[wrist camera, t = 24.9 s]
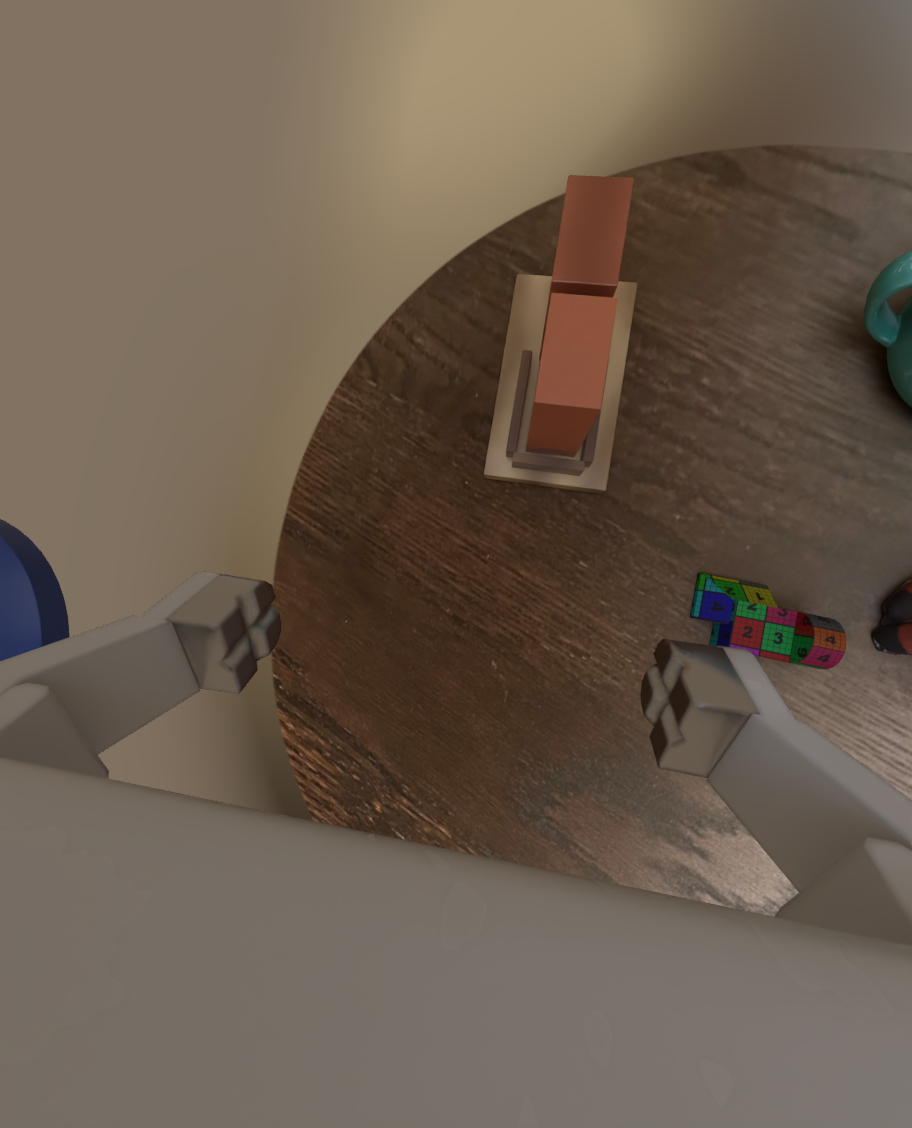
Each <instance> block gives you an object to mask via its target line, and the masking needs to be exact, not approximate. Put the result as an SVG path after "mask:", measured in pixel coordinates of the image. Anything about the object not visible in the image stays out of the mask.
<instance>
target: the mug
mask: <svg viewBox="0 0 912 1128" xmlns="http://www.w3.org/2000/svg"><path fill="white" fill-rule="evenodd" d="M908 287H912V251H911V252H908V253H906V254H904V255H903V256H901V257H899V258H898V259H896V260H895V261H893V262H892V263H891V264H889V265H888V266H887V267H886V268H885V269H884V270H883V271H882V272H881V273H880V274H879V275H878V277H877V278H876V279H875V281H874V283H873V284H872V286H871V289H870V291H869V293H868V296H867V300H866V305H865V309H864V325H865V328H866V330H867V332H868V333H869V334H870V336H871V337H872V338H873V339H874V340H876V341H877V342H879V343H880V344H882V345H884V346H886V347H887V365H888V370H889V374H890V377H891V380H892V382H893V385H894V387H895V389H896V390H897V392H898V393H899V395H900V396H901V397H902V399H903V400H904V401H905V402H906V403H907V404H908V405H909V406H910V407H912V298H911V299H910V300H909V301H908V303H907V304H906V305H905V307H904V308H903V309H902V311H901V312H900V314H899V315H896V313H895V312H894V311H893V310H892V309H891V308H890V306H889V305H888V302H887V298H889V297H890V296H892V295H893V294H895V293H897V292H899V291H901V290H903V289H906V288H908Z"/></svg>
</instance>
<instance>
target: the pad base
mask: <svg viewBox="0 0 912 1128" xmlns="http://www.w3.org/2000/svg"><path fill="white" fill-rule="evenodd" d="M633 183H634V178H621V177H598V176H576V175H575V176H574V175H570V176H569V177H568V182H567V188H566V194H565V200H564V207H563V213H562V219H561V225H560V231H559V237H558V244H557V250H556V256H555V262H554V268H553V274H552V276H539V275H526V274H517V276H516V283H515V289H514V295H513V301H512V307H511V313H510V319H509V325H508V331H507V337H506V343H505V349H504V355H503V361H502V367H501V373H500V379H499V385H498V391H497V397H496V403H495V409H494V415H493V421H492V427H491V433H490V439H489V445H488V451H487V457H486V463H485V469H484V478H487V479H495V480H502V481H509V482H517V483H524V484H532V485H539V486H546V487H554V488H561V489H569V490H576V491H583V492H591V493H598V494H603V493H604V492H605V491H606V488H607V481H608V474H609V468H610V461H611V455H612V448H613V442H614V435H615V428H616V422H617V415H618V409H619V402H620V396H621V389H622V382H623V376H624V369H625V363H626V356H627V350H628V343H629V336H630V330H631V323H632V317H633V310H634V304H635V297H636V290H637V283H634V282H620V281H618V280H619V273H620V267H621V261H622V254H623V248H624V241H625V235H626V228H627V222H628V215H629V209H630V202H631V196H632V189H633ZM551 293H561V294H573V295H586V296H599V297H612V298H618V300H617V307H616V313H615V320H614V326H613V333H612V339H611V346H610V352H609V359H608V365H607V372H606V379H605V385H604V392H603V398H602V405H601V410H600V411H599V413H598V415H597V417H596V419H595V421H594V422H593V424H592V426H591V428H590V430H589V432H588V433H587V435H586V437H585V439H584V441H583V443H582V444H581V446H580V448H579V450H578V452H577V453H576V455H575V457H567V456H559V455H551V454H543V453H535V452H527V451H526V445H527V439H528V433H529V426H530V420H531V414H532V408H533V402H534V395H535V389H536V383H537V377H538V371H539V365H540V359H541V353H542V347H543V341H544V335H545V329H546V323H547V317H548V311H549V305H550V299H551Z"/></svg>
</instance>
